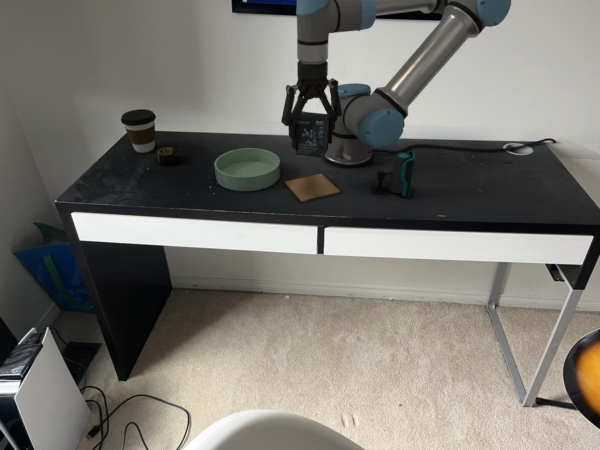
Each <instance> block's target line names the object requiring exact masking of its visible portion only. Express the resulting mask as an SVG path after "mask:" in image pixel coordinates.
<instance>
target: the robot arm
mask: <svg viewBox="0 0 600 450" xmlns="http://www.w3.org/2000/svg"><path fill="white" fill-rule="evenodd" d="M511 6H512V0H296V11H295V14H296V41H297V42H296V45H297V46H296V51H297V52H296V56H297V60H298V61H297V71H296V72H297V73H296V74H297V82H296V84H292V85H290V84H287V85H285V92H286V95H285V99H284V105H283V110H282V115H281V120H280V121H281V123H282V124H283V126H284V127H288V137H289V138H290V139H291V148H292V149H294V151H295V152H296V151H297V150H299V140H298V126H296V123H297V121H298V119H299V117H300V115H301V112H302V111H304V108H305V105H306V104H307V103H308V101H309V100H312V99H319V101H320V102H321V105H322V107H323V109H324V111H325V114H329V137H328V151H327V152H326V154H325V155H324V157H323V159H324V160H325V161H326V162H327V163H329V164H331V165H333V166H335V167H341V168H357V167H363V166H365V165H367V164H368V163H370V162H371V161H372V156H373V153H386V154H397V153H399V152H405V151H407V150H410V149H412V148H421V147H422V148H435V149H447V150H459V151H468V152H469V151H470V152H506V151H507V152H508V151H513V150H519V149H523V148H526V147H529V146H534V145H538V144H541V143H544V142H549V141H550V142H551V143H553V144H557V140H556V139H554V138H552V137H548V138H547V137H546V138H542V139H539V140H537V141H533V142H529V143H525V144H522V145H517V146H512V147H503V148H477V147H476V148H475V147H474V148H473V147H462V146H461V147H460V146H452V145H451V146H450V145H437V144H427V143H419V144H418V143H417V144H411V145H408V146H406V147H404V148H402V149H397V150H389V149H386V148H388V147H391V146H393V145H394V144H395V143H396V142H397V141H399V139H400V138H401V137H402V135H403V133H404V128H405V125H406V123H405V120H406V119H407V117H408V116H409V107H410V106H411V105H412V103H413V102H414V101H415V100H416V99H417V98H418V97H419V96H420V94H421V93H422V92H423V91H424V89H426V87H427V86H428V85H429V84H430V83H431V82H432V80H433V79H434V78H435V77H436V76H437V75H438V74H439V72H440V71H441V70H442V69H443V68H444V67H445V66H446V64H447V63H448V62H449V61H450V60H451V59H452V57H453V56H455V54H456V53H457V52H458V51H459V50H460V49H461V47H462V46H463V45H464V44H465V42H467V40H468V39H474V38H477V37H478V36H479V35H480V34H481V33H482V32H483V31H484V29H485V28H486V27H488V28H492V27H496V26H498V25H500V24H501V23H502V22H503V21H504V20H505V19H506V18H507V16H508V14H509V11H510V9H511ZM417 11H420V12H422V13H423V14H433V13H435V14H440V15H441V14H442V15H444V16H443V18H442V19H441V21H440V22H439V23H438V24H437V25H436V26H435V27H434V29H433V30H432V31H431V32H430V33H429V34H428V36H426V38H425V39H424V41H423V42H422V43H421V44H420V45H419V46H418V48H416V50H415V51H414V52H413V53H412V54H411V55H410V57H408V59H407V60H406V61H405V62H404V64H403V65H402V66H401V67H400V68H399V69H398V71H397V72H396V73H395V74H394V76H392V78H391V79H390V80H389V81H388V82H387V83H386V84H385V86H380V87H379V86H378V87H376V88H375V89H374V90H373V92H372V88H371V86H370V85H369V84H365V83H359V82H358V83H352V82H351V83H343V84H342V83H341V84H339V81H338V80H337V79H336V78H333V77H332V78H330V79H329V78H328V75H329V73H328V72H329V62H328V59H329V37H330V34H336V33H337V34H338V33H346V32H361V31H365V30H369V29H371V28H372V27H373V26H374V24H375V21H376V19H377V16H384V15H392V14H400V13H409V12H417ZM327 88H329V94H330V101H329V99H328V95H327V93H326V89H327ZM297 91H298V92H299V93H298V95H297V99H296V98H295V97H296V96H295V95H296V94H297ZM295 99H296V102H295ZM294 103H295V105H294Z"/></svg>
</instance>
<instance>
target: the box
mask: <svg viewBox="0 0 600 450" xmlns="http://www.w3.org/2000/svg"><path fill="white" fill-rule="evenodd" d="M296 126H298V140H299V150H297V151H296V150H295V155H297V156H306V157H312V158H319V159H324V155H325V154H326V152H327V151H328V137H329V114H327V113H320V112H311V111H304V110H302V112H301V115H300V117H299V119H298V121H297V123H296Z"/></svg>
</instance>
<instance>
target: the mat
mask: <svg viewBox="0 0 600 450" xmlns="http://www.w3.org/2000/svg"><path fill="white" fill-rule="evenodd" d="M284 184H285V185H286V186H287V187H288V188H289V189H290V191H291V192H292V193H293V194H294V195H295V196H296V197H297V199H299V201H300V202H301V203H303V202H307V201H312V200H315V199H320V198H325V197H327V196H328V197H329V196H331V195H337V194H339V193H341V190H340V189H339V188H338V187H336V185H335V184H333V183H332V182H331V181H330V180H329V179H328V177H326V176H325V175H324V174H323V173H317V174H313V175H308V176H304V177H299V178H295V179H291V180H286V181H284Z"/></svg>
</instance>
